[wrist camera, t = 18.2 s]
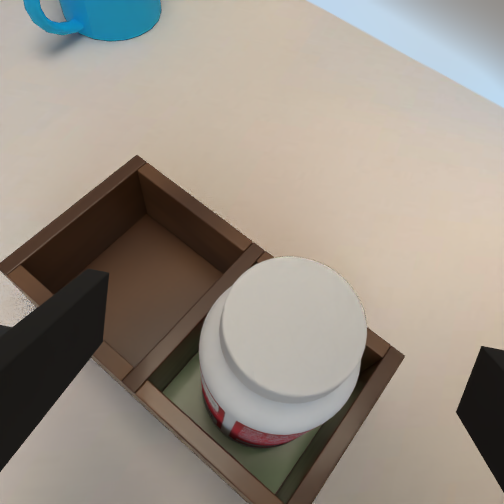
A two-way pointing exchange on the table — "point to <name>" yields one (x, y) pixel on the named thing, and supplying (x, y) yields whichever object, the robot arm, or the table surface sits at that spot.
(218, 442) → the compartment box
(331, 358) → the pill bottle
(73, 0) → the mug
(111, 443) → the table surface
